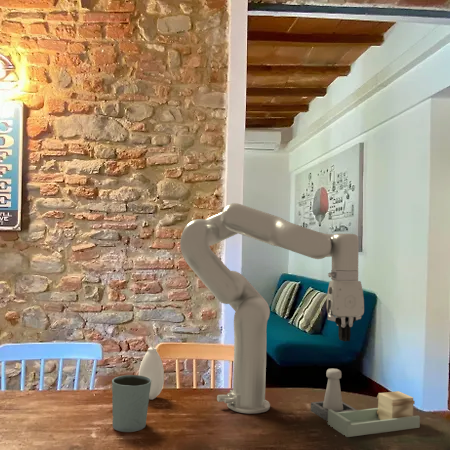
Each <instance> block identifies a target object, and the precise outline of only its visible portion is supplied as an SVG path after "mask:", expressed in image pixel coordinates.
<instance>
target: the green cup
mask: <svg viewBox="0 0 450 450" xmlns="http://www.w3.org/2000/svg"><path fill="white" fill-rule="evenodd" d="M111 386H112V387H111V389H112V390H111V392H112V393H111V394H112V396H111V397H112V398H111V399H112V401H111V403H112V405H111V407H112V428H113V429H114V430H116V431H118V432H122V433H133V432H137V431H141V430H143V429H145V428H146V425H147V417H148V411H149V410H148V409H149V401H150V400H149V393H150V387H151V379H150V378H148V377H144V376H139V375H138V374H137V375H136V374H134V375H133V374H125V375H119V376H115V377H114V378H112V380H111Z"/></svg>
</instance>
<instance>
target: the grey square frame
mask: <svg viewBox="0 0 450 450" xmlns="http://www.w3.org/2000/svg"><path fill="white" fill-rule="evenodd" d="M323 402H324V400H322V401H313V402H310V412H311V413H313V414H315V415H316V416H318V417H319V418H321V419H322V418H323V419H322V420H324V421H325V420H326V421H325V422H327V421H328V410H326V409H324V408H323ZM342 403H343V410H342V411H335V412H345V411H354V410H358V409H356V407H355V408H354V407H353V406H351V405H350V404H347V403H346V402H345V401H342Z"/></svg>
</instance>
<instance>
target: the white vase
mask: <svg viewBox="0 0 450 450" xmlns="http://www.w3.org/2000/svg"><path fill="white" fill-rule="evenodd" d="M163 364H164V363H163V361H162V358H161V355H160V354H159V352H158V351H157V348H156V347H154V340H153V339H152V340H151V346H150V347H148V349H147V351H146V353H145V354H144V356H143V358H142V360H141V362H140V366H139V370H138V374H137V375H139V376H144V377H148V378H150V379H151V387H150V393H149V401H150V400H152V401H153V400H154V399H156V398H157V396H159V395H160V393H161V392H162V390H163V387H164V382H165V370H164V365H163Z"/></svg>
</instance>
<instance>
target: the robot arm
mask: <svg viewBox="0 0 450 450" xmlns="http://www.w3.org/2000/svg"><path fill="white" fill-rule="evenodd" d="M238 234H239V235H242V236H245V237H248V238H250V239H254V240H257V241H259V242H262V243H265V244H267V245H271V246H273V247H279V248H282V249H285V250H286V251H287V250H288V251H291V252H292V253H293V252H294V253H295V254H298V255H299V254H300V255H302V256H304V257H308V258H311V259H315V260H322V259H324V258H331V272H329V273H327V276H328V278H330V281H329V282H328V288H327V294H326V296H327V297H326V313H327V320H328V321H331V322H334V323H335V324H336V326H338V340H340V341H341V342H350V341H351V335H352V334H351V331H352V330H351V328H352V327H353V325H354V323H355V322H356V321H358V320H361V319H362V316H363V315H364V313H365V299H364V298H365V297H364V291H363V286H362V282H361V280H360V281H359V236H358V235H357V234H355V233H335V234H334V233H333V234H330V233H323V232H320V231H317V230H314V229H311V228H308V227H305V226H302V225H299V224H296V223H293V222H290V221H287V220H286V219H284V218H282V217H280V216H277V215H274V214H270V213H268V212H265V211H262V210H259V209H256V208H254V207H253V208H252V207H250V206H246V205H243V204H240V203H236V202H233V203H229V204H227V205H225V207H224V208H223V209H222V211H220V212H219V213H218V214H215V215H212V216H210V217H208V218H205V219H204V218H197V219H192V221H189V222H188V223H187V224H186V225H185V227H184V229H183V231H182V233H181V237H180V241H179V242H180V243H179V244H180V251H181V254H182V257H183V259H184V261H185V263H186V264H187V265H188V267H189V268H190V269H191V270H192V271H193V273H194V274H195V275H196V276H197V277H198V280H200V281H201V282H202V284H204V286H205V287H206V288H207V289H208V290H209V292H210V293H211V294H212V296H214V298H215V299H216V300H217V301H218V302H219V303H222V304H225V305H230V307H231V308H232V309H233V310H234V311H235V312H234V316H233V335H234V337H233V339H234V340H233V341H234V342H233V343H234V344H233V377H232V378H233V379H232V380H233V381H232V383H233V384H232V389H229V392H228V393H227V394H217V396H216V400H217V402H219V403H220V402H224V404H226V405H227V408H228V409H229V410H231V411H234V412H237V413H241V414H255V415H256V414H262V413H265V412H268V411H269V410H270V408H271V403H270V402H269V401H268V400H266V372H267V369H266V368H267V327H268V326H267V325H268V320H269V319H270V314H271V309H270V306H269V304H268V301H266V299H265V298H264V297H263V295H261V293H260V292H258V291H257V289H256V288H255V287H254V286H253V285H252V284H251V283H250V282H249V280H248V279H247V278H246V277H245V275H243V274H242V273H240V272H239V271H236V270H231V269H229V267H228V266H227V265H226V264H225V263H224V262H223V261H222V260H221V258H220V257H219V256H217V254H216V253H214V252H213V250H212V248H211V246H213V245H215V244H218V243H220V242H222V241H225V240H227V239H229V238H231V237H234V236H236V235H238Z"/></svg>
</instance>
